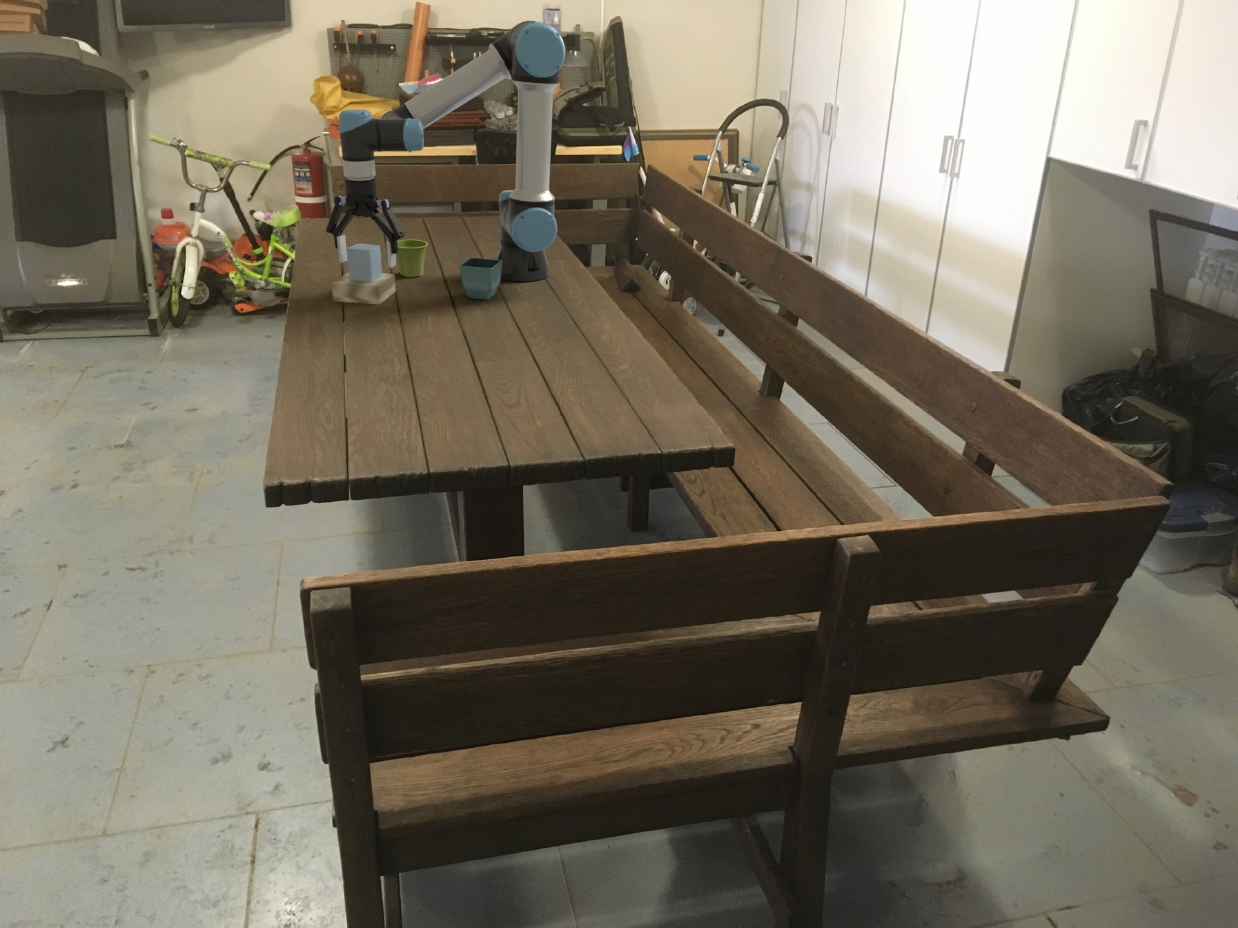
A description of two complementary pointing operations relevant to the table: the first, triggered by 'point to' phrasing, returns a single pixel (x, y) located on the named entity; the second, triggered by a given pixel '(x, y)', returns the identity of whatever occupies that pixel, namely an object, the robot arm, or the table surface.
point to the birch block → (363, 289)
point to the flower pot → (480, 277)
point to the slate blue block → (364, 262)
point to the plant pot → (411, 257)
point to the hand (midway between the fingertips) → (367, 264)
